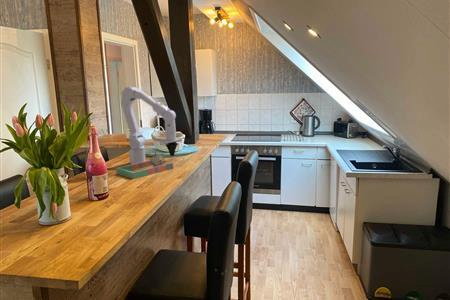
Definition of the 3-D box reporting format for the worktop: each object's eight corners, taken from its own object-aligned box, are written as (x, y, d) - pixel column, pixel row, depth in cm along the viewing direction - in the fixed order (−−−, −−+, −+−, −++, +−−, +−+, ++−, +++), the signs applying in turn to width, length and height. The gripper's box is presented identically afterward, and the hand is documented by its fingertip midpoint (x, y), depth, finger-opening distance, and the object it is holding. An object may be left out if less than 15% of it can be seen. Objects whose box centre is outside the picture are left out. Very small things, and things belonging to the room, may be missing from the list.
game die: (156, 173, 185) (150, 157, 188) (170, 167, 185) (164, 152, 188) (150, 169, 176) (145, 153, 179) (165, 163, 176) (159, 147, 179)
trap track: (116, 173, 173) (115, 167, 172) (155, 163, 191) (155, 158, 190) (133, 178, 162) (132, 173, 162) (173, 168, 180) (172, 162, 180)
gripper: (164, 134, 178) (166, 158, 181) (185, 131, 189) (186, 154, 192) (156, 133, 183) (158, 157, 186) (177, 130, 194) (178, 152, 196)
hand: (172, 155), depth 189 cm, fingers closed
